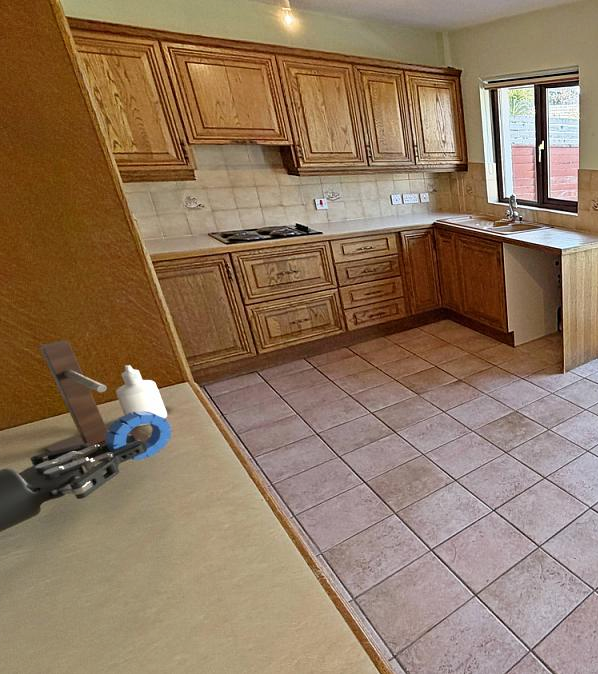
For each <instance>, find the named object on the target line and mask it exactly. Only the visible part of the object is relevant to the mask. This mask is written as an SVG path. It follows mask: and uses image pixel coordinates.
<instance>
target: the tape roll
mask: <svg viewBox="0 0 598 674" xmlns="http://www.w3.org/2000/svg"><path fill="white" fill-rule="evenodd" d="M117 420H120V421H117ZM114 421H115V422H114ZM114 421H113V422H114V423H113V424H112V425H111V426H110V427H109V428H108V430H110V431H107V432H106V438H105V442H107V443H105V444H106V445H107V447H108V448H109V450H110V451H112V450H114V449H117V448H119V447H122V446H124V445H126V437H127V435H128V433H129V432H130V431H131V430H132V429H133V428H137V426H138V427H140V426H139V425H141V424H147V425H150V427H151V428H152V430H151V435H150V436H148V437H149V439H148V440H147V441H145V445H146V447H147V451H146V452H145V453H142V454H140V455H138V456H136V457H133V458H131V459H129V460H130V461H131V460H133V461H136V460H144V459H147V458H150V457H152V456H154V455H156V454H158V453H159V452H160V451H161V450H163V449H164V448H165V447H166V445H167V444H168V443H169V441H170V439H171V436H172V425H171V424H170V423H169V421H168V419H166V418H163V417H161V416H158V415H156V414H153V413H151V412H146V411H139V412H133V414H132V413H129V414H126V415H125V414H123V415H122V416H120V417H118V419H116V420H114Z"/></svg>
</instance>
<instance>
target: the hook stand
mask: <svg viewBox="0 0 598 674" xmlns="http://www.w3.org/2000/svg"><path fill="white" fill-rule="evenodd" d="M70 343H71V342H70V341H67V340H65V339H62V340H58V341H55V342H50V343H46V344H43V345H39V346H38V348H39V350H40V352H41V354H42V357H43V359H44V360H45V363H46V365H47V367H48V369H49V371H50V373H51V376H52V378H53V380H54V382H55V384H56V387H57V389H58V391H59V393H60V395H61V397H62V399H63V402H64V404H65V405H66V409H67V410H68V412H69V414H70V416H71V419H72V421H73V423H74V425H75V427H76V429H77V431H78V433H79V434H78V435H75V436H73V437H70V438H68V439H64V440H62V441H59V442H56V443H54V444H51V445H49V446H46V447H45V450H47V452H51V451H55V450H59V449H64V448H68V447H72V446H76V445H80V444H84V443H87V444H88V445H89V446H92V445H97V444H98V445H99V446H101V445H102V444H105V443H107V442H105V438H106V432H107V431H110V430H108V428H109V427H110V426H111V425H112V424H113V423H114V422H115V420H114V421H111V422H109V423H105V421H104V418H103V417H102V414H101V412H100V410H99V407H98V405H97V404H96V401H95V399H94V396H93V393H92V391H91V390H93V391H95V392H97V393H104V392H106V391H107V389H108V388H107V387H108V386H106V385H105V384H103V383H101V382H98V381H96V380H94V379H92V378H89V377H87V376H85V375H84V374H83V373H84V372H83V371H82V369H81V367H80V364H79V362H78V360H77V357H76V355H75V353H74V350H73V348H72V345H71V344H70ZM90 389H91V390H90ZM116 420H117V421H120V420H119V419H116ZM128 434H131V435H133V436H134V438H135V440H142V441H144V442H146V441H147V440H148V439H149V437H150V436H149V434H148V433H146V432H144V431H141V430H139V428H137V427H135V428H133V429H132V430H131V431H130V432H129V433H128ZM77 452H79V451H77Z"/></svg>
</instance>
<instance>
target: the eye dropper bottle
mask: <svg viewBox="0 0 598 674" xmlns="http://www.w3.org/2000/svg"><path fill="white" fill-rule="evenodd" d="M124 370H125V371H124V372H122V373H121V375H120V376H121V378H122V380H123V382H124V384H123V385H121V386H120V387H117V389H116V390H115V394H116V398H117V400H118V402H119V404H120V407H121V409H122V411H123V415H126V414H129V413H132V414H133V412H139V411H146V412H151V413H153V414H156V415H158V416H161V417H163V418H165V419H166V418H167V417H168V411H167V409H166V407H165V404H164V401H163V399H162V396H161V394H160V390H159V388H158V386H157V384H156V382H155V381H153V380H151V379H143V378H142V375H141V373H140V370H139V369H133V367H132V366H131V365H130V364H128V365H125V366H124ZM147 425H148V424H141V425H139V426H137V427H143V426H147ZM137 427H136V428H137Z"/></svg>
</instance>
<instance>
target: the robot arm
mask: <svg viewBox="0 0 598 674" xmlns="http://www.w3.org/2000/svg"><path fill="white" fill-rule="evenodd" d="M145 442H146V441H145ZM145 442H144V441H142V440H135V438H134V436H133V435H131V434H128V435H127V437H126V445H124V446H122V447H119V448H117V449H114V450H112V451H110V450H109V448H108V447H107V445H106V444H102V445H101V446H99V445H98V444H97V445H92V446H89V445H88V444H87V443H84V444H80V445H76V446H72V447H68V448H64V449H59V450H55V451H51V452H50V451H47V452H44V453H43V452H42V453H40V454H36V455H35V454H34V455H33V456H30V461H31V464H32V465H31V466H30V467H27V468H25V469H23V470H22V471H20V472H17V471H16V469H15V470H14V469H13V468H9V467H6V468H3V469H2V468H1V469H0V533H2V532H4V531H6V530H8V529H10V528H12V527H15V526H17V525H19V524H20V523H23V522H25V521H27V520H29V519H32V518H34V517H36V516H38V515H39V514H40V513H41V510H42V508H41V505H42V504H43V503H45V502H49V501H52V500H56V499H59V498H61V497H63V496H65V495H74V496H75V498H76V499H77V500H81V499H85V498H87V497H88V496H89V495H90V494H92V493H94V492H95V491H96V490H98V489H99V488H100V487H102V486H103V485H104V484H106V483H108V481H110V480H111V479H113V478H115V477H116V476H117V475H118V474H120V470H119V465H120V464H122V463H124V462H127V461H129V460H130V459H131V458H133V457H136V456H138V455H140V454H142V453H145V452H146V451H147V447H146V445H145ZM77 451H79V452H77ZM131 460H132V459H131Z"/></svg>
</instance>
